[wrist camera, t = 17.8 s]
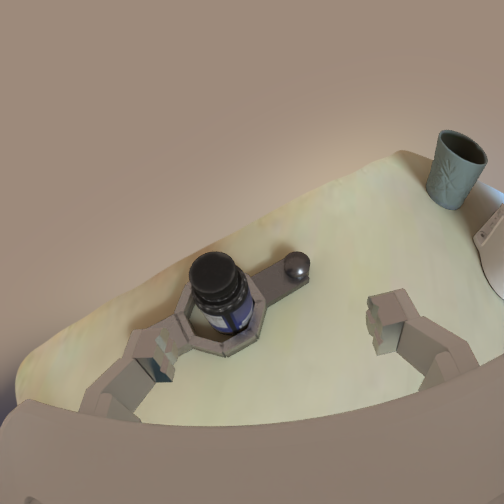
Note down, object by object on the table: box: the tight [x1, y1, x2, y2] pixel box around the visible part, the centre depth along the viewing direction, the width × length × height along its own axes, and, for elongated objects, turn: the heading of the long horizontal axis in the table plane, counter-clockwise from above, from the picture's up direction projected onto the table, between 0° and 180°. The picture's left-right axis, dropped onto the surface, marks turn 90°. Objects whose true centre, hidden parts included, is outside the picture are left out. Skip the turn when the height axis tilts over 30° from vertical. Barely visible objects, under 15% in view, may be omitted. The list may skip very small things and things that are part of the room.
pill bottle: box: [189, 252, 254, 335], centre depth 31 cm, size 6×6×11 cm
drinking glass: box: [426, 130, 488, 210], centre depth 39 cm, size 10×10×12 cm
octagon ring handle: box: [147, 252, 310, 358], centre depth 35 cm, size 26×11×3 cm, turn 120°
